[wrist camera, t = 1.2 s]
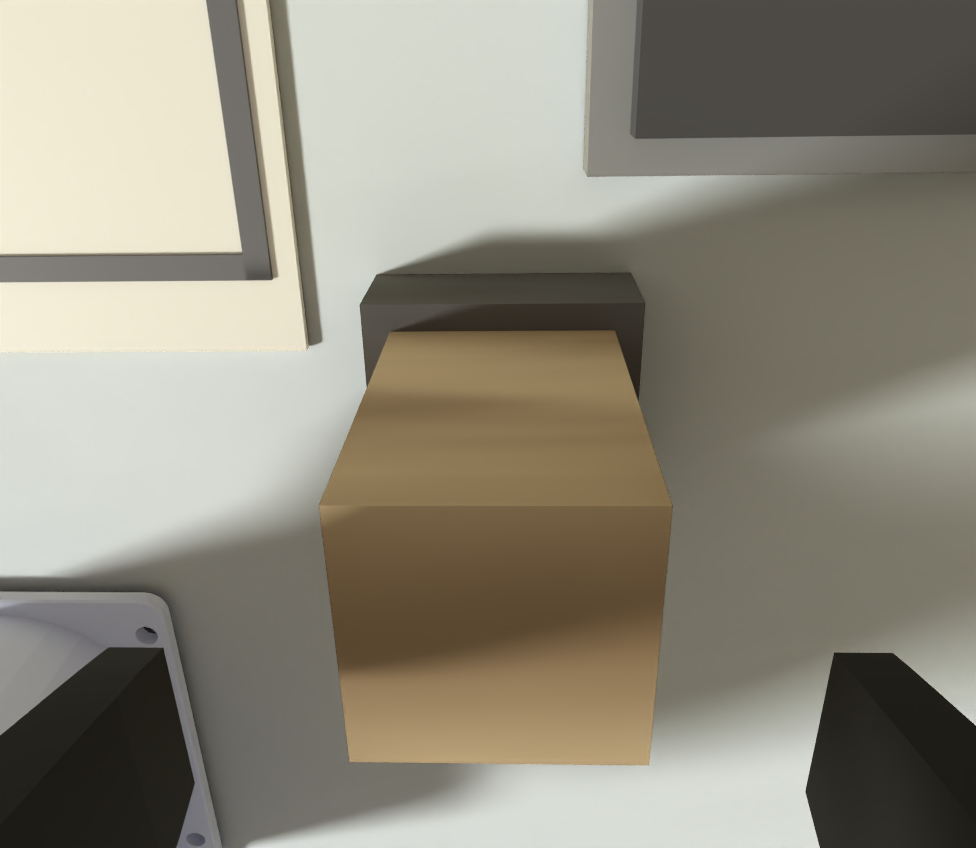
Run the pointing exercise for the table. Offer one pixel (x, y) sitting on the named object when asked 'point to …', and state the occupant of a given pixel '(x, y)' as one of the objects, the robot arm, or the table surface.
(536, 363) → the stamp
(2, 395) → the table surface
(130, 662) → the robot arm
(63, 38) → the marked card
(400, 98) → the table surface
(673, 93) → the ink pad
